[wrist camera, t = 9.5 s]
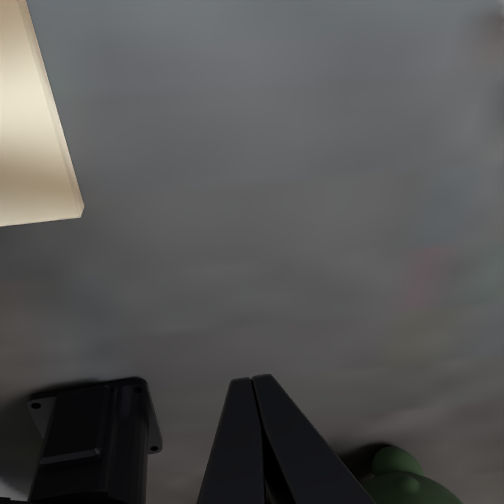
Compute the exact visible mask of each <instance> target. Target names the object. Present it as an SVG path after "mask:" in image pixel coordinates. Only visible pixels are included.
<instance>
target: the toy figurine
mask: <svg viewBox="0 0 504 504" xmlns="http://www.w3.org/2000/svg"><path fill="white" fill-rule="evenodd" d="M372 462H373V474H374V476H375V477H374V478H372V479H370V480H368V481H366V482H364V483H363V484H362V487H363V488H364V489H365V490H366V492H367V493H368V494H369V495H370V497H371V498H372V499H373V500H374V501H375V503H376V504H463V503H462V502H461V501H460V500H459V499H458V498H457V497H456V496H455V495H454V494H453V493H452V492H450V491H449V490H448V489H446V488H445V487H444V486H442V485H441V484H439V483H437V482H435V481H433V480H431V479H429V478H426V477H424V476H423V470H422V468H421V466H420V465H419V463H418V462H417V460H416V459H415V458H414V457H413V456H412V455H411V454H409V453H408V452H407V451H405V450H403V449H400V448H398V447H395V446H389V447H383V448H382V449H380V450H379V451H378V452H377V453H376V455H375V457H374V459H373V461H372Z"/></svg>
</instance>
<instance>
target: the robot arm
mask: <svg viewBox="0 0 504 504" xmlns="http://www.w3.org/2000/svg"><path fill="white" fill-rule="evenodd" d="M137 387H140V388H137ZM26 406H27V409H28V411H29V413H30V415H31V417H32V419H33V421H34V423H35V425H36V427H37V429H38V431H39V433H40V435H41V437H42V439H43V444H42V447H41V451H40V455H39V458H38V462H37V466H36V470H35V473H34V477H33V481H32V484H31V488H30V492H29V496H28V499H27V501H15V500H10V498H6V497H0V504H146V482H147V460H148V454H154V453H158V452H160V451H161V450H162V438H161V434H160V430H159V426H158V423H157V419H156V415H155V411H154V407H153V403H152V400H151V396H150V392H149V388H148V384H147V382H146V381H145V380H144V379H131V380H124V381H117V382H111V383H104V384H98V385H91V386H85V387H78V388H71V389H65V390H58V391H52V392H45V393H39V394H34V395H31V396H30V397H29V399H28V401H27V404H26ZM265 482H266V484H265ZM266 487H267V491H268V495H269V498H270V502H271V504H376V503H375V501H374V500H373V499H372V498H371V497H370V495H369V494H368V493H367V492H366V490H365V489H364V488H363V487H362V485H361V484H360V483H359V482H358V481H357V479H356V478H355V477H354V476H353V474H352V473H351V472H350V471H349V469H348V468H347V467H346V466H345V465H344V463H343V462H342V461H341V460H340V458H339V457H338V456H337V455H336V453H335V452H334V451H333V450H332V448H331V447H330V446H329V445H328V444H327V442H326V441H325V440H324V439H323V437H322V436H321V435H320V434H319V432H318V431H317V430H316V429H315V428H314V426H313V425H312V424H311V423H310V421H309V420H308V419H307V418H306V416H305V415H304V414H303V413H302V412H301V410H300V409H299V408H298V407H297V405H296V404H295V403H294V402H293V400H292V399H291V398H290V397H289V396H288V394H287V393H286V392H285V391H284V389H283V388H282V387H281V386H280V384H279V383H278V382H277V381H276V379H275V378H274V377H273V376H272V375H270V374H263V375H257V376H253V377H252V379H250V378H249V377H244V378H238V379H233V380H231V382H230V385H229V388H228V392H227V395H226V399H225V403H224V406H223V410H222V413H221V417H220V421H219V424H218V428H217V431H216V435H215V439H214V442H213V446H212V450H211V453H210V457H209V460H208V464H207V468H206V471H205V475H204V478H203V482H202V486H201V489H200V493H199V496H198V500H197V504H266Z"/></svg>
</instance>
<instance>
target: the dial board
mask: <svg viewBox="0 0 504 504" xmlns="http://www.w3.org/2000/svg"><path fill="white" fill-rule="evenodd" d="M83 209H84V204H83V201H82V197H81V193H80V190H79V186H78V183H77V179H76V176H75V172H74V169H73V165H72V162H71V158H70V155H69V151H68V148H67V144H66V141H65V137H64V134H63V130H62V126H61V123H60V119H59V116H58V112H57V109H56V105H55V102H54V98H53V95H52V91H51V88H50V84H49V81H48V77H47V74H46V70H45V67H44V63H43V60H42V56H41V52H40V49H39V45H38V42H37V38H36V35H35V31H34V28H33V24H32V21H31V17H30V14H29V10H28V7H27V3H26V0H0V226H8V225H17V224H26V223H35V222H44V221H53V220H62V219H70V218H79V217H81V214H82V211H83Z"/></svg>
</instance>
